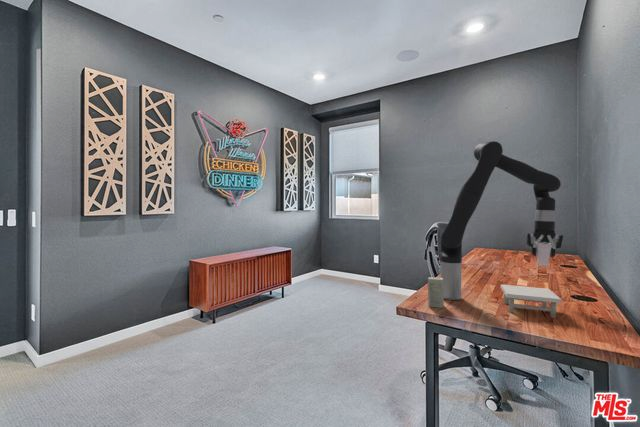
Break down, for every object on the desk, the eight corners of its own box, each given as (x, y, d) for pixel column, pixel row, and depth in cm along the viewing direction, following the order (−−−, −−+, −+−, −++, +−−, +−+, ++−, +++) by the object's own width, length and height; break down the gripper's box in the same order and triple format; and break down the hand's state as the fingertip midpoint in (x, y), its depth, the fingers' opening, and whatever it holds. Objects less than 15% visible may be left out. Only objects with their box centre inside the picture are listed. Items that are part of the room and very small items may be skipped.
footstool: (506, 313, 124) (506, 293, 123) (500, 301, 138) (500, 284, 138) (560, 319, 116) (561, 299, 116) (548, 307, 131) (548, 288, 131)
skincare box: (443, 305, 133) (444, 277, 133) (443, 308, 129) (443, 280, 129) (428, 303, 136) (428, 276, 135) (427, 306, 132) (427, 278, 131)
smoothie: (536, 265, 138) (538, 235, 137) (532, 263, 144) (533, 233, 143) (553, 267, 136) (555, 236, 135) (548, 264, 142) (550, 234, 141)
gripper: (528, 219, 138) (526, 256, 139) (567, 221, 133) (565, 259, 133) (524, 219, 145) (522, 253, 146) (560, 220, 140) (559, 256, 140)
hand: (542, 256), depth 140 cm, fingers closed on smoothie, 6 cm apart
